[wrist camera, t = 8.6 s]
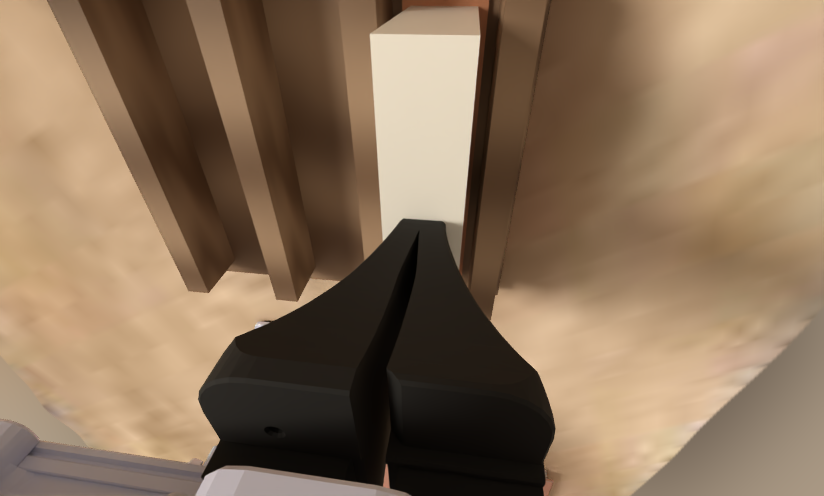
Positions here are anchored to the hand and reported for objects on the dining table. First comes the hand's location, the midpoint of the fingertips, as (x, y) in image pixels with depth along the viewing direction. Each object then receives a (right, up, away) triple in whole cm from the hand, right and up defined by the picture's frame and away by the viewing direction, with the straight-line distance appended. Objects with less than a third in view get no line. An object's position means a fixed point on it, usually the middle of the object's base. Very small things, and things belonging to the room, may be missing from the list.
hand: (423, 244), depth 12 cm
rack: (-4, +5, +7) cm, 10 cm away
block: (+1, +4, +5) cm, 7 cm away
